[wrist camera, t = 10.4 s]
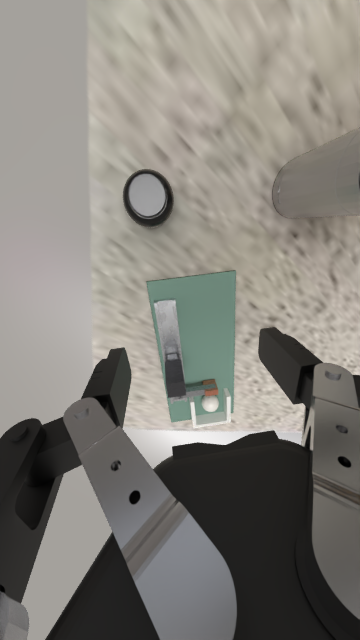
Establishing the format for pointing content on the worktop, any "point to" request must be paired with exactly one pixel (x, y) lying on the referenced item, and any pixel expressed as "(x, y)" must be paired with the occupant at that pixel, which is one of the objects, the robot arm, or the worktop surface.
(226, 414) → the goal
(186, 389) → the block
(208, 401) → the ball
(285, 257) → the worktop surface
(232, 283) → the field
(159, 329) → the rail
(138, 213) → the supplement bottle
